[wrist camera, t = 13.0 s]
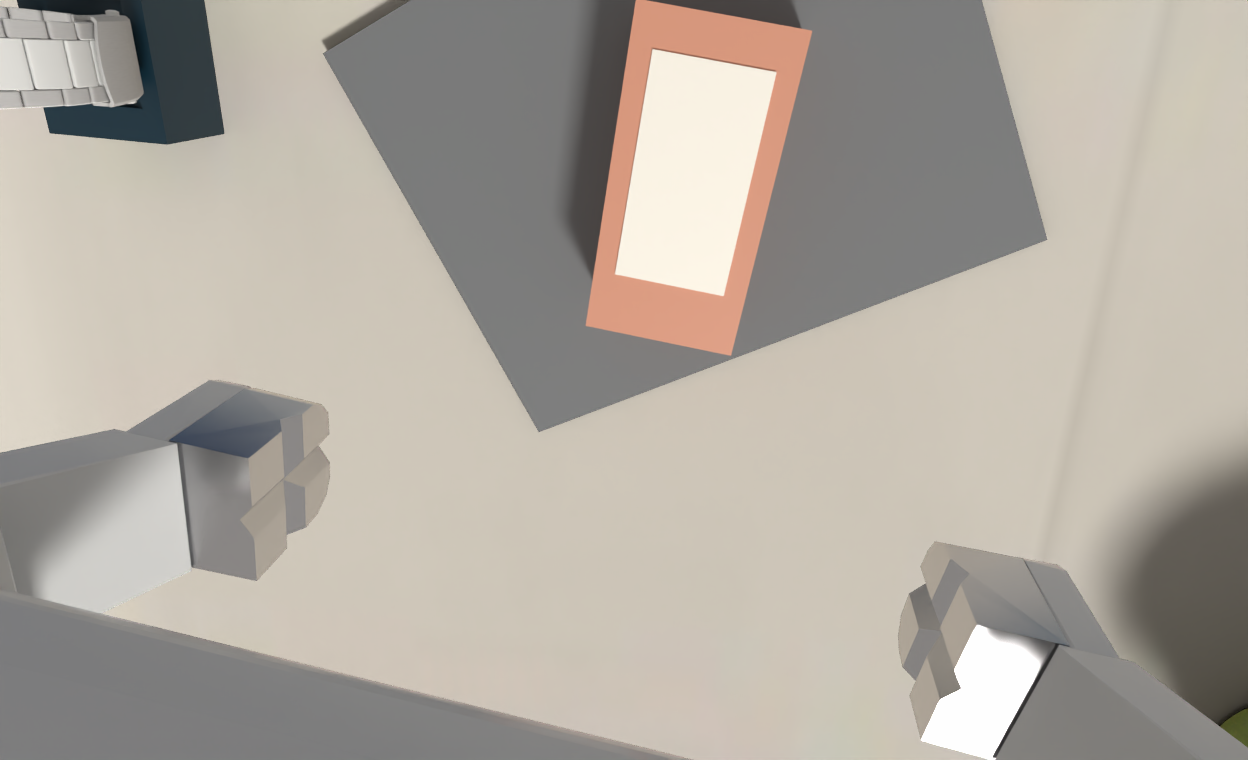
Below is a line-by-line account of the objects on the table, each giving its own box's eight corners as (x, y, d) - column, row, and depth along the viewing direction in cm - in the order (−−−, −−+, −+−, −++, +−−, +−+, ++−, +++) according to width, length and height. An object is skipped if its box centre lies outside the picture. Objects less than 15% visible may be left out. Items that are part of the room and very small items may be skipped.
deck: (731, 356, 25) (812, 30, 21) (585, 326, 25) (635, -2, 21) (731, 322, 28) (802, 31, 24) (600, 295, 28) (648, 3, 24)
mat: (897, -293, 20) (899, -299, 20) (1042, 236, 26) (1047, 239, 25) (328, 53, 26) (323, 53, 26) (541, 427, 31) (538, 432, 31)
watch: (31, -47, 26) (-398, -98, 16) (247, -31, 25) (-65, -75, 15) (70, 121, 29) (-283, 166, 19) (269, 140, 28) (11, 197, 18)
